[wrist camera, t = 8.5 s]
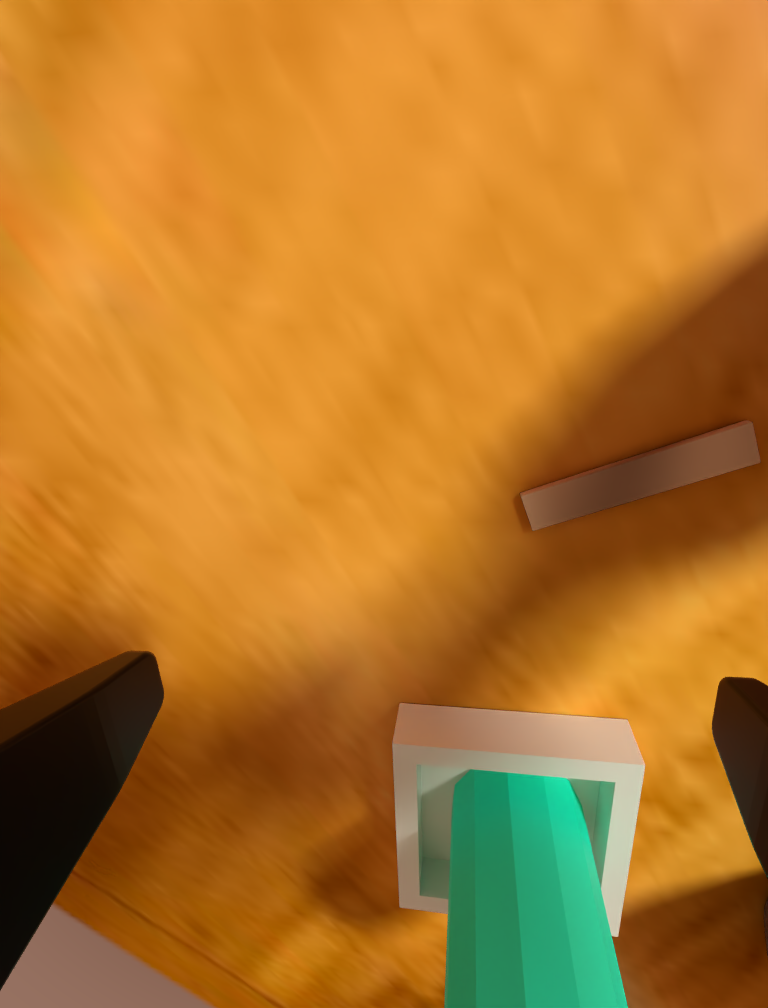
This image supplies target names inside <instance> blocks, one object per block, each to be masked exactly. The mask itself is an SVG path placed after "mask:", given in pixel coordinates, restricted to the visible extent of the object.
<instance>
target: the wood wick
mask: <svg viewBox="0 0 768 1008" xmlns="http://www.w3.org/2000/svg"><path fill="white" fill-rule="evenodd" d="M758 463H761V460H760V455H759V451H758V446H757V441H756V436H755V432H754V427H753V422H751V421H748V420H745V421H742V422H739V423H736V424H733V425H730V426H726V427H723V428H720V429H717V430H714V431H711V432H708V433H705V434H702V435H698V436H695V437H692V438H689V439H686V440H683V441H680V442H677V443H674V444H670V445H667V446H664V447H661V448H658V449H655V450H652V451H649V452H646V453H642V454H639V455H636V456H633V457H630V458H627V459H624V460H621V461H618V462H615V463H611V464H608V465H605V466H602V467H599V468H596V469H593V470H590V471H587V472H583V473H580V474H577V475H574V476H571V477H568V478H565V479H562V480H559V481H555V482H552V483H549V484H546V485H543V486H540V487H537V488H534V489H531V490H527V491H524V492H521V493H520V496H521V499H522V502H523V504H524V507H525V510H526V513H527V516H528V519H529V522H530V525H531V528H532V531H535V530H538V529H541V528H545V527H548V526H551V525H555V524H558V523H561V522H565V521H568V520H571V519H574V518H578V517H581V516H584V515H588V514H591V513H594V512H598V511H601V510H604V509H608V508H611V507H614V506H618V505H621V504H624V503H628V502H631V501H634V500H638V499H641V498H644V497H648V496H651V495H654V494H658V493H661V492H664V491H668V490H671V489H674V488H678V487H681V486H684V485H688V484H691V483H694V482H698V481H701V480H704V479H708V478H711V477H714V476H718V475H721V474H724V473H728V472H731V471H734V470H738V469H741V468H744V467H748V466H751V465H754V464H758Z"/></svg>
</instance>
